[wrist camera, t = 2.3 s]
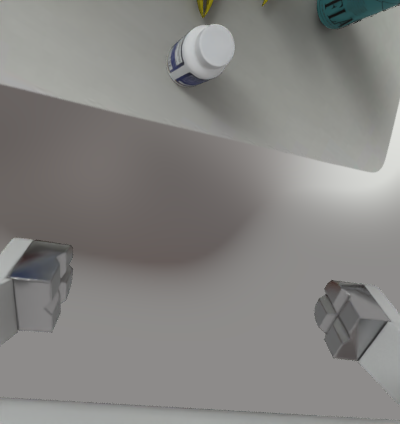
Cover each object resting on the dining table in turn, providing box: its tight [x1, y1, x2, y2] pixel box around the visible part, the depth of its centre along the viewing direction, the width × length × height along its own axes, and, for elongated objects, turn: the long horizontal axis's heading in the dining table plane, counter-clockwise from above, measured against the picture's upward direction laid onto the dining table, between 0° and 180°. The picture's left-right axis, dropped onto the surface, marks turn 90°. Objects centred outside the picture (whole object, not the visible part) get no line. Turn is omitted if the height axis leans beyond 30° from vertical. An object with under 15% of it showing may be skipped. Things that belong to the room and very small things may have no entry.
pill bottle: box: [166, 24, 235, 87], centre depth 35 cm, size 5×5×10 cm
